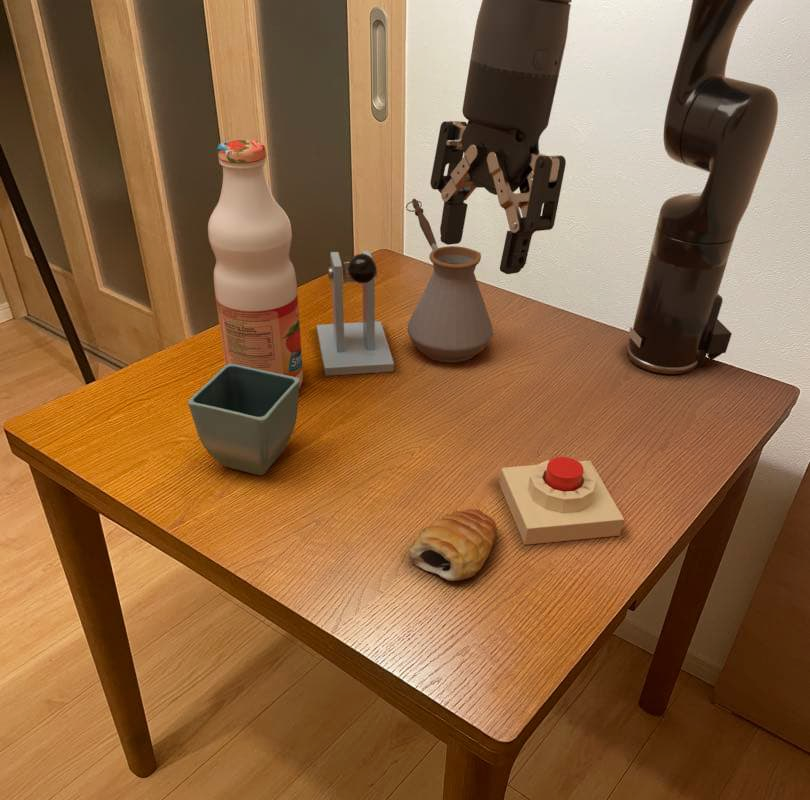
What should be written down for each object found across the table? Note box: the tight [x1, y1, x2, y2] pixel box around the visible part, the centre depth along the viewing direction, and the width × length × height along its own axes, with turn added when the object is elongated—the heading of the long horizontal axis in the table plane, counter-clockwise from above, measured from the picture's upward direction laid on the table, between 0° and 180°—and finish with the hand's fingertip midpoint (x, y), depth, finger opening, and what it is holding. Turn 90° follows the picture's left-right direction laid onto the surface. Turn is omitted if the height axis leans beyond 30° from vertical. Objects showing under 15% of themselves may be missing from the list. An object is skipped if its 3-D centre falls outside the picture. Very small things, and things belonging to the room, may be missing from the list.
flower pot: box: [187, 364, 300, 476], centre depth 86 cm, size 9×9×9 cm
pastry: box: [408, 508, 498, 582], centre depth 77 cm, size 9×7×4 cm
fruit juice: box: [207, 138, 304, 389], centre depth 91 cm, size 9×9×28 cm
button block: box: [498, 459, 625, 546], centre depth 82 cm, size 10×10×4 cm
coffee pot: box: [405, 198, 494, 363], centre depth 107 cm, size 21×12×15 cm, turn 20°
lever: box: [341, 253, 377, 285], centre depth 95 cm, size 14×3×3 cm, turn 10°
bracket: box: [316, 250, 395, 377], centre depth 103 cm, size 12×9×13 cm
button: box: [545, 456, 584, 492], centre depth 80 cm, size 4×4×2 cm
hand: (478, 257), depth 76 cm, fingers open, 8 cm apart
